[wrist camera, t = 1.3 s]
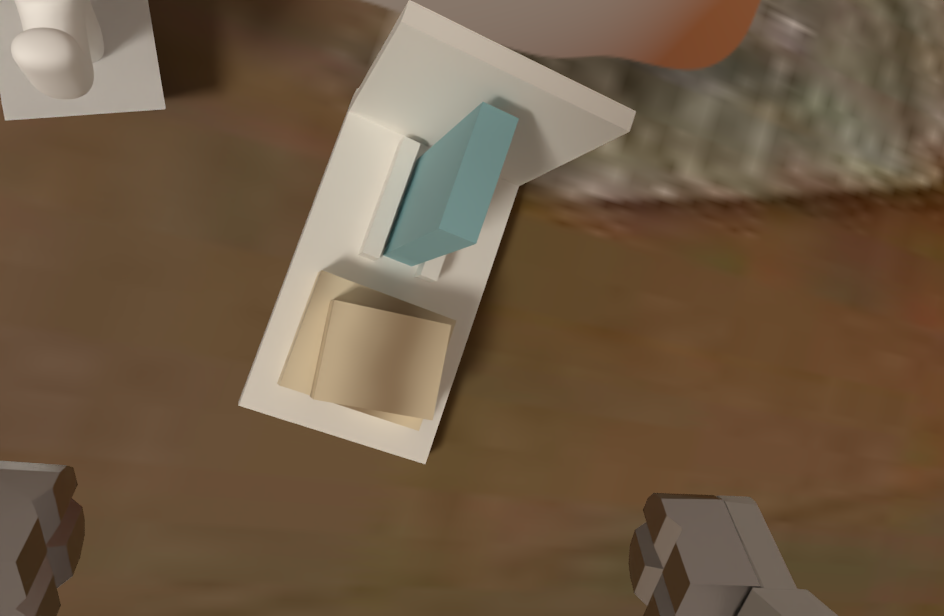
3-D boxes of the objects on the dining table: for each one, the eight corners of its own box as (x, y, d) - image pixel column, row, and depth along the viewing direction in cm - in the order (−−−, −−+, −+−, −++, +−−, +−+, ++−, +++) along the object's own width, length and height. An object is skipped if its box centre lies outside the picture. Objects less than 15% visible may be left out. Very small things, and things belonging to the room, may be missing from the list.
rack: (238, 403, 44) (247, 436, 29) (353, 95, 46) (413, -12, 32) (418, 460, 47) (506, 515, 33) (517, 168, 49) (639, 101, 35)
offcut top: (309, 396, 42) (313, 399, 40) (330, 301, 42) (334, 299, 40) (424, 417, 44) (432, 420, 42) (442, 325, 44) (451, 325, 42)
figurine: (145, -24, 43) (108, -202, 29) (173, 147, 43) (150, 54, 29) (-4, -21, 41) (-124, -212, 26) (26, 159, 41) (-77, 66, 27)
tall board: (382, 255, 45) (438, 228, 34) (417, 159, 46) (482, 101, 34) (411, 266, 45) (476, 243, 34) (445, 171, 46) (519, 118, 35)
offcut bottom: (277, 383, 43) (279, 385, 41) (317, 272, 44) (321, 270, 42) (411, 427, 45) (418, 431, 43) (447, 321, 46) (456, 320, 44)
